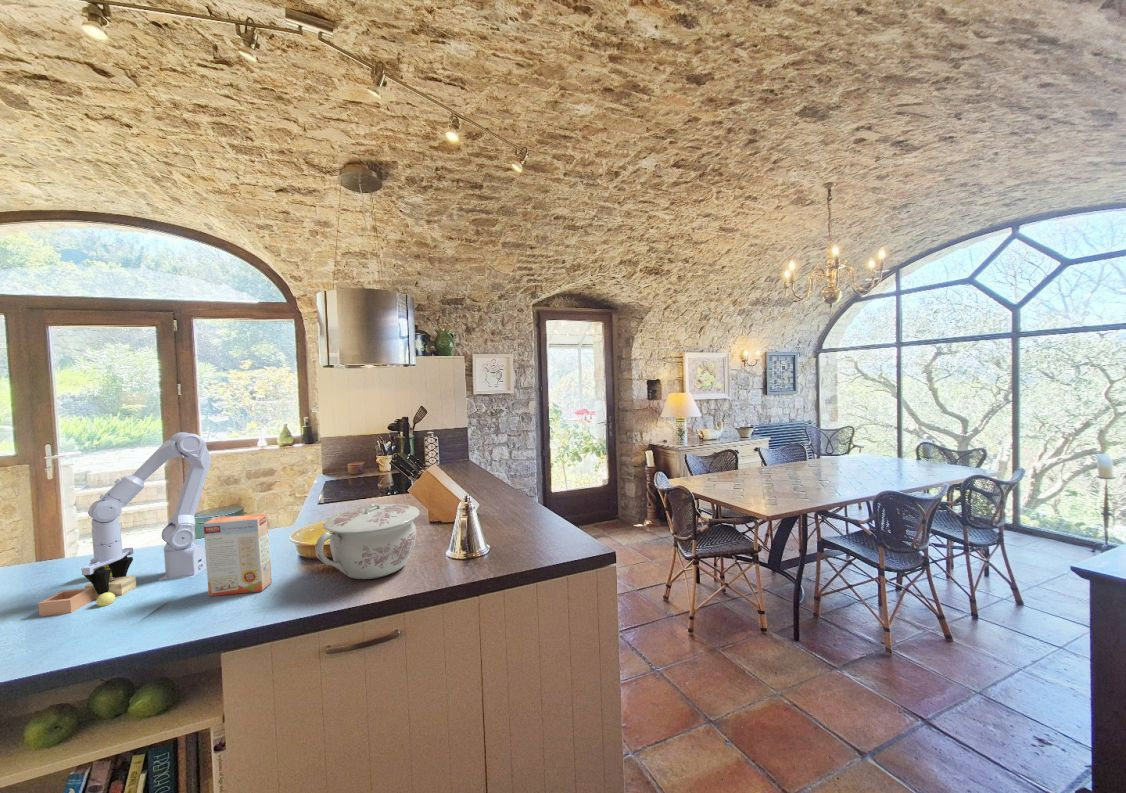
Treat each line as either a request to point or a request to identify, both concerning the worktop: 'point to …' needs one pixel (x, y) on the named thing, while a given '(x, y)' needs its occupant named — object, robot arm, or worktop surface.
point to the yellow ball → (105, 599)
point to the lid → (118, 585)
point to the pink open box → (65, 601)
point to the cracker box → (237, 554)
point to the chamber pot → (370, 540)
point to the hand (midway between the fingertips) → (111, 589)
